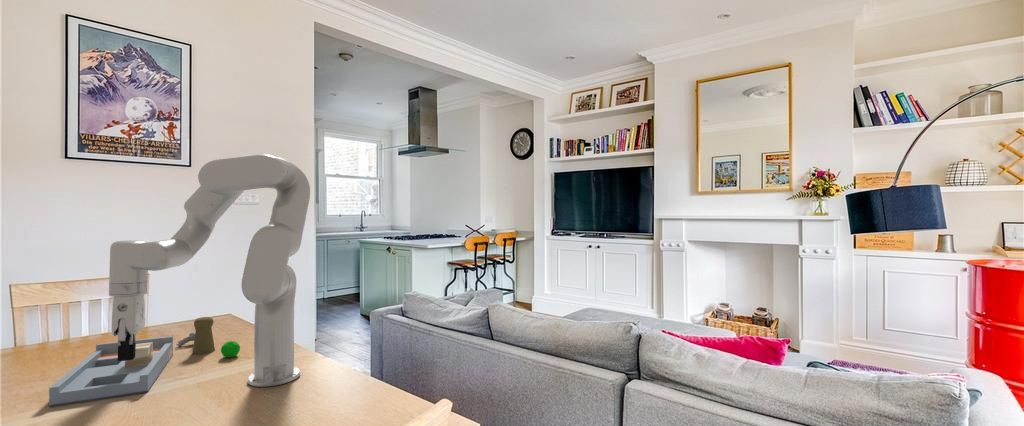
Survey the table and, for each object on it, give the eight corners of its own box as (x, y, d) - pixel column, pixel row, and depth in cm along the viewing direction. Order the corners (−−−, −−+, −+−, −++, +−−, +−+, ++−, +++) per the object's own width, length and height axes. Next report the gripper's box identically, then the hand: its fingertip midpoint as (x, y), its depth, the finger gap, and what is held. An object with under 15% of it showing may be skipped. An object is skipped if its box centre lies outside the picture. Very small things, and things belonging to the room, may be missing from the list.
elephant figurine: (171, 345, 151) (199, 330, 158) (182, 358, 150) (210, 342, 157) (173, 331, 145) (202, 316, 152) (184, 345, 144) (213, 329, 151)
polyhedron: (216, 359, 136) (216, 343, 136) (229, 353, 141) (229, 339, 141) (231, 360, 136) (231, 344, 136) (243, 355, 140) (243, 339, 140)
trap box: (147, 392, 111) (147, 368, 111) (49, 407, 103) (49, 381, 103) (173, 355, 140) (173, 336, 140) (97, 364, 131) (97, 344, 131)
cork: (219, 348, 146) (219, 315, 146) (205, 354, 140) (205, 320, 140) (202, 348, 147) (202, 315, 147) (187, 354, 141) (187, 319, 141)
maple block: (148, 365, 122) (148, 347, 122) (124, 368, 120) (124, 349, 120) (152, 359, 127) (152, 342, 126) (130, 362, 124) (130, 344, 124)
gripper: (139, 292, 110) (137, 367, 110) (153, 283, 123) (151, 349, 123) (99, 294, 106) (97, 371, 106) (118, 284, 119) (116, 352, 119)
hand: (126, 359), depth 115 cm, fingers closed
